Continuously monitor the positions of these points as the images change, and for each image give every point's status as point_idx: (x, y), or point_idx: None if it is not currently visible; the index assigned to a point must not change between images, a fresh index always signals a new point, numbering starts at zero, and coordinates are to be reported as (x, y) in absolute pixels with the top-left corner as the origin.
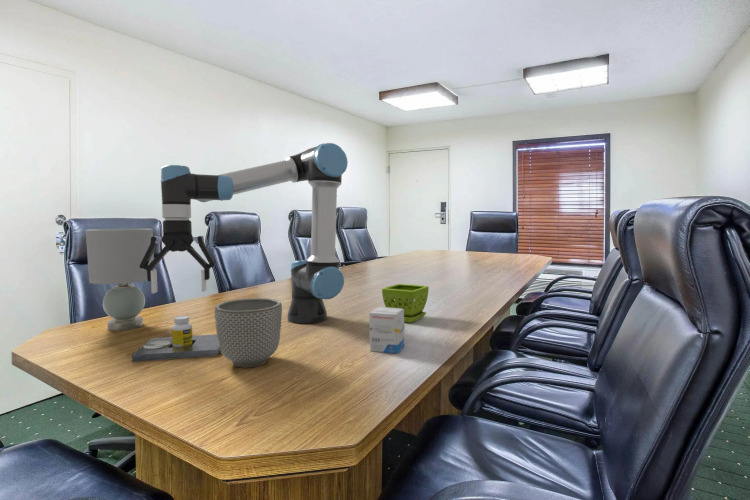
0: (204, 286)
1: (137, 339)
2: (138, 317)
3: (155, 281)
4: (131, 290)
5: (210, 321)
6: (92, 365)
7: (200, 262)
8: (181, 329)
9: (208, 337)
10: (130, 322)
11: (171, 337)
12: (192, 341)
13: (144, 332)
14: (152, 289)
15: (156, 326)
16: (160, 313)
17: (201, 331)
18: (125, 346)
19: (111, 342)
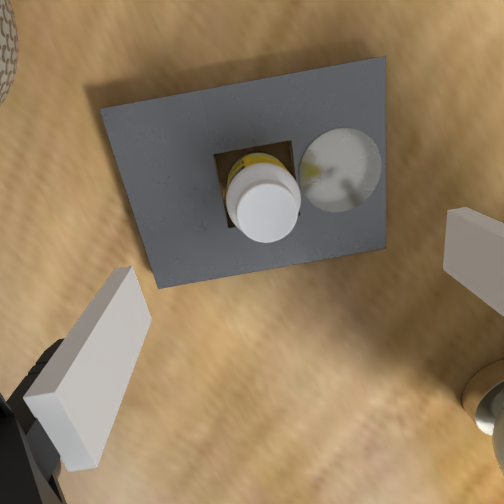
0: (101, 288)
1: (435, 283)
2: (488, 425)
3: (502, 278)
4: None
5: (284, 433)
6: (492, 27)
7: (8, 497)
8: (250, 166)
9: (198, 251)
10: (497, 383)
11: (323, 254)
12: None
13: (436, 343)
14: (477, 216)
15: (420, 392)
16: (446, 489)
17: (273, 351)
18: None
19: None
